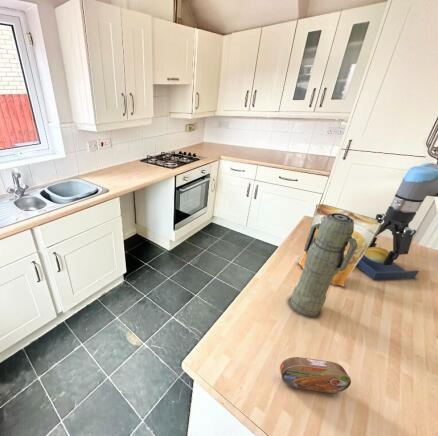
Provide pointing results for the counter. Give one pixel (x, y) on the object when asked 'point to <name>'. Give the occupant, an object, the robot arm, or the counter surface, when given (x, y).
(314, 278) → the thermos
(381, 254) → the bread roll
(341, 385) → the tin
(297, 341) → the counter surface
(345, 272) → the pancake mix bag
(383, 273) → the scoop
